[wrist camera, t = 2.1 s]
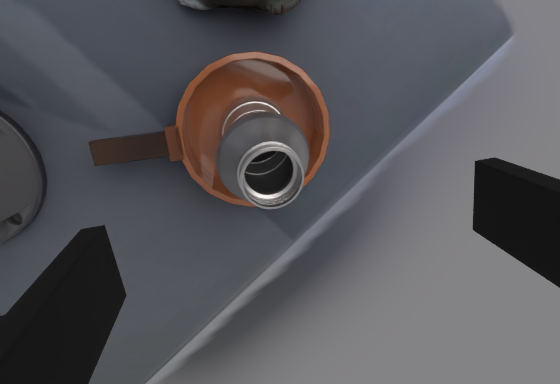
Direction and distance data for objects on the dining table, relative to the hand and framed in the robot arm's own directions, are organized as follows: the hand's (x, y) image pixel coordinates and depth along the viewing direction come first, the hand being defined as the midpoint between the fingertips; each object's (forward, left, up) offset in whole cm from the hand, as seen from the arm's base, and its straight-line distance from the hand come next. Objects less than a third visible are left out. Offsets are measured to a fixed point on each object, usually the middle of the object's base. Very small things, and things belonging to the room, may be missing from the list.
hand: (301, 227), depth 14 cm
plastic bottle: (0, -1, -28) cm, 29 cm away
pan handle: (-11, -1, -26) cm, 28 cm away
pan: (0, -1, -29) cm, 29 cm away
